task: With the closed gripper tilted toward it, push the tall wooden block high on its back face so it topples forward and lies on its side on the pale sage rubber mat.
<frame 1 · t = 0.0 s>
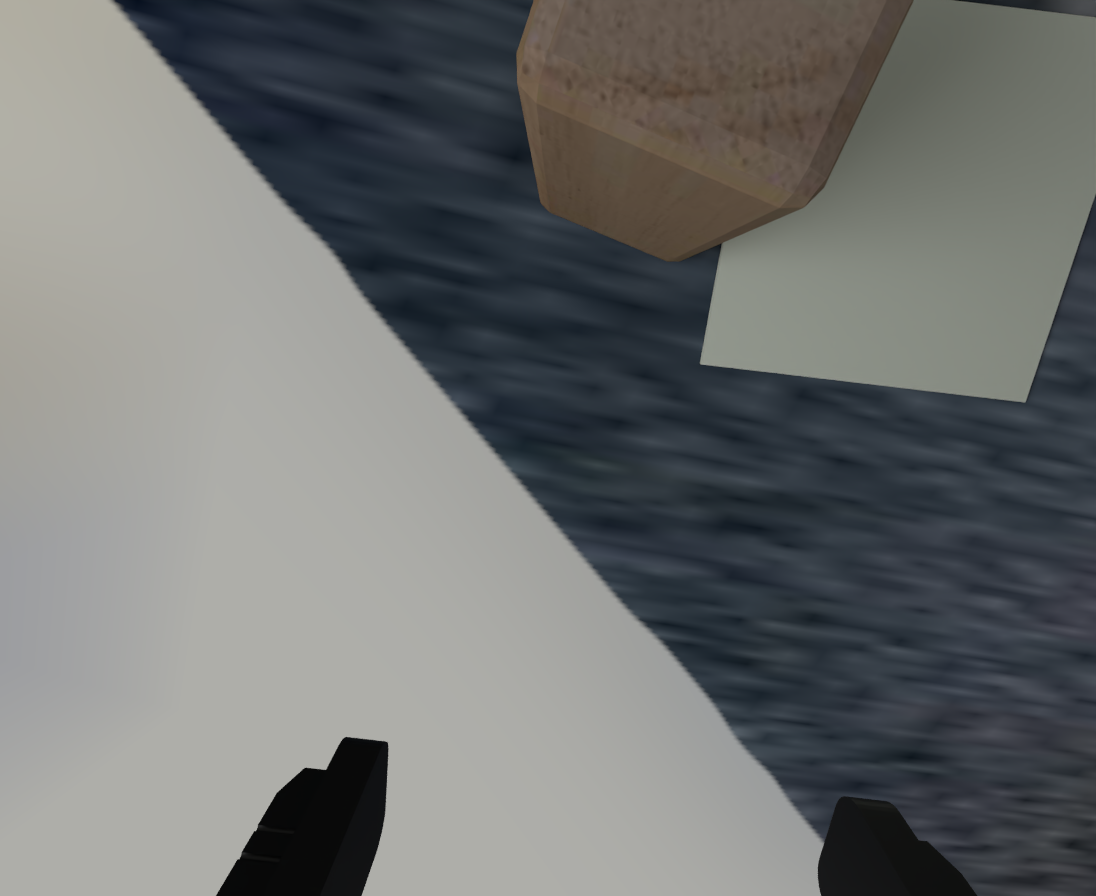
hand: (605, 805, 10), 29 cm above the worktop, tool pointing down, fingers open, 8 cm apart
mat: (905, 208, 34), on the worktop
wooden block: (638, 160, 34), on the worktop
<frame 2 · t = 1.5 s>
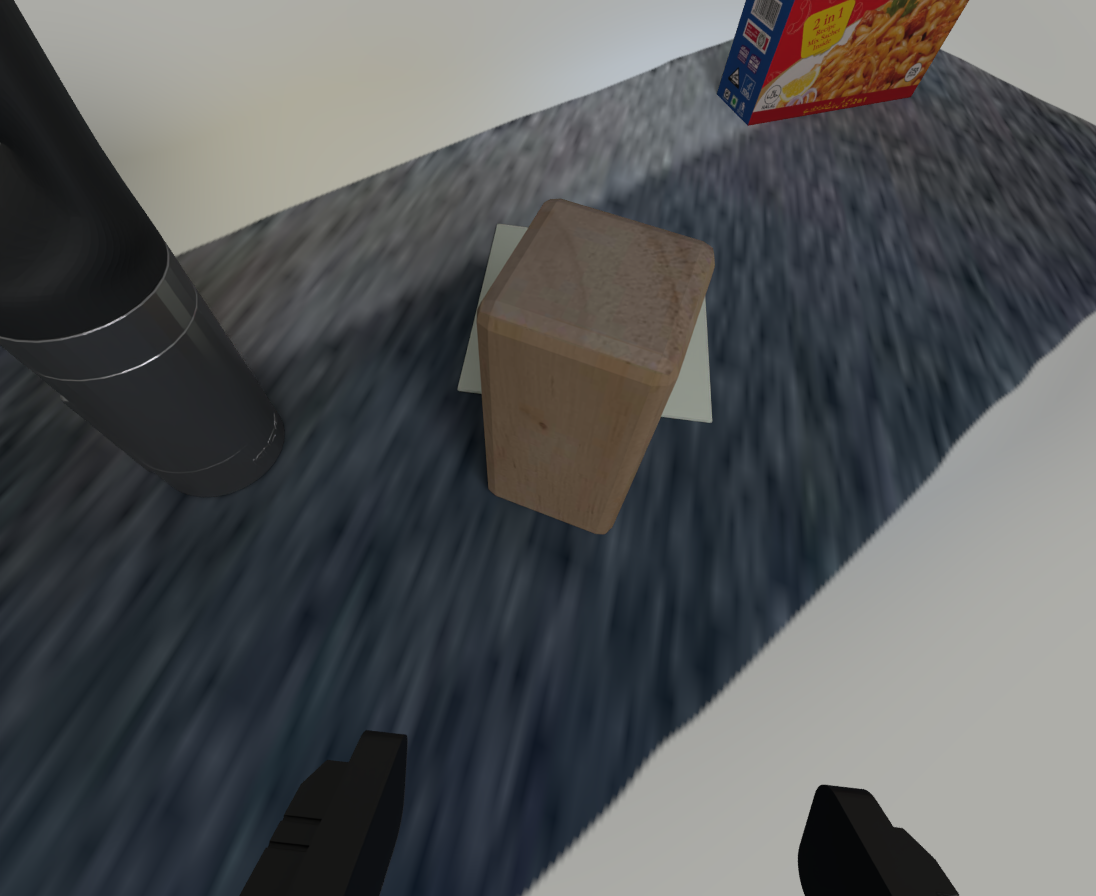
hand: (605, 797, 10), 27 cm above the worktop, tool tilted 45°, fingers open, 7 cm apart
mat: (592, 313, 52), on the worktop
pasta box: (814, 97, 76), on the worktop
wooden block: (566, 467, 44), on the worktop
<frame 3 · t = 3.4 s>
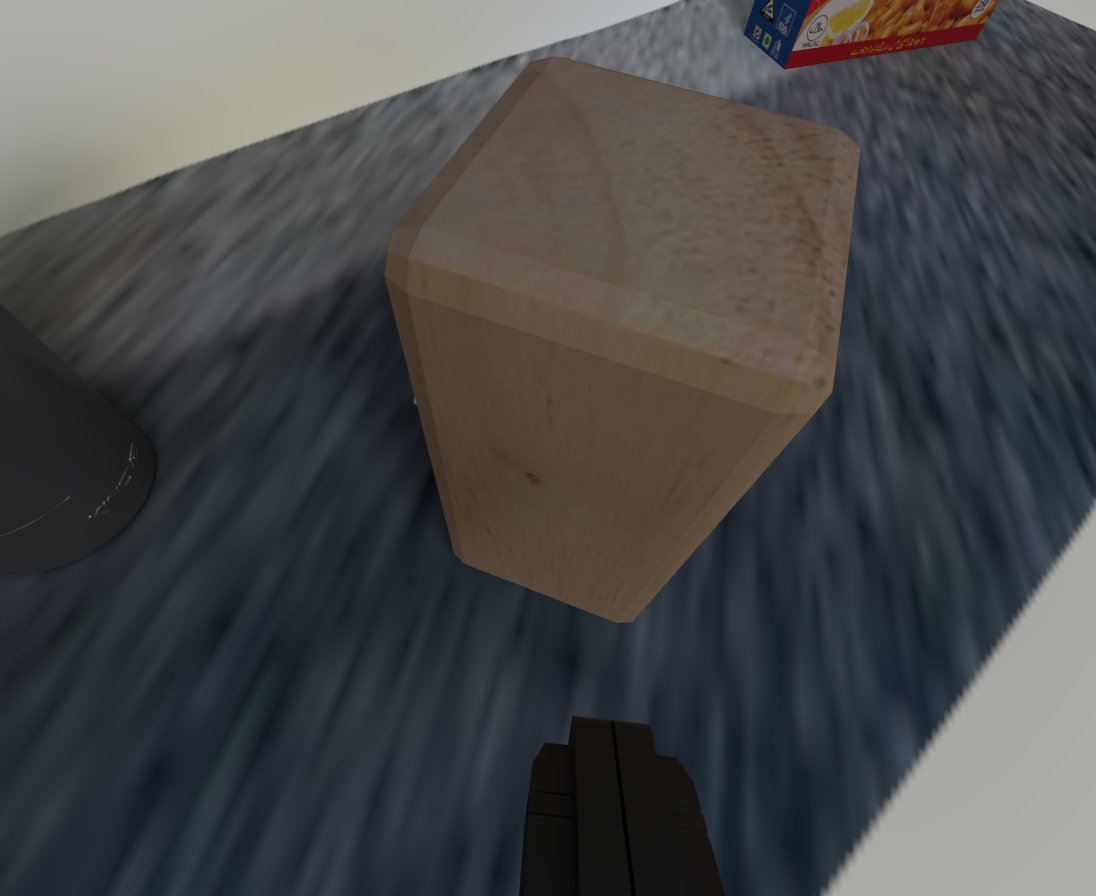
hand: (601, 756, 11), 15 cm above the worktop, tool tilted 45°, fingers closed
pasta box: (861, 39, 63), on the worktop
wooden block: (569, 515, 30), on the worktop
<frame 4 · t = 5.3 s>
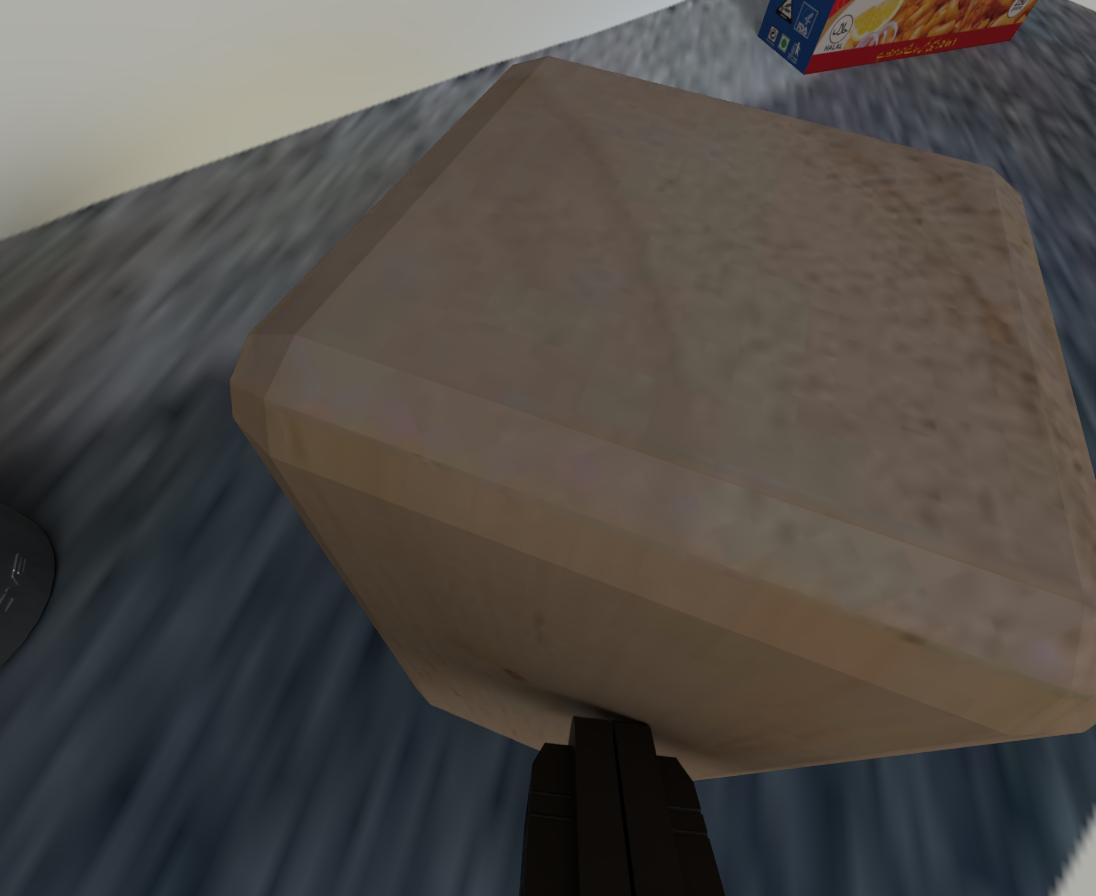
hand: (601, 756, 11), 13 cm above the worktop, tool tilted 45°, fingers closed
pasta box: (886, 40, 58), on the worktop
wooden block: (564, 628, 24), on the worktop, touching gripper
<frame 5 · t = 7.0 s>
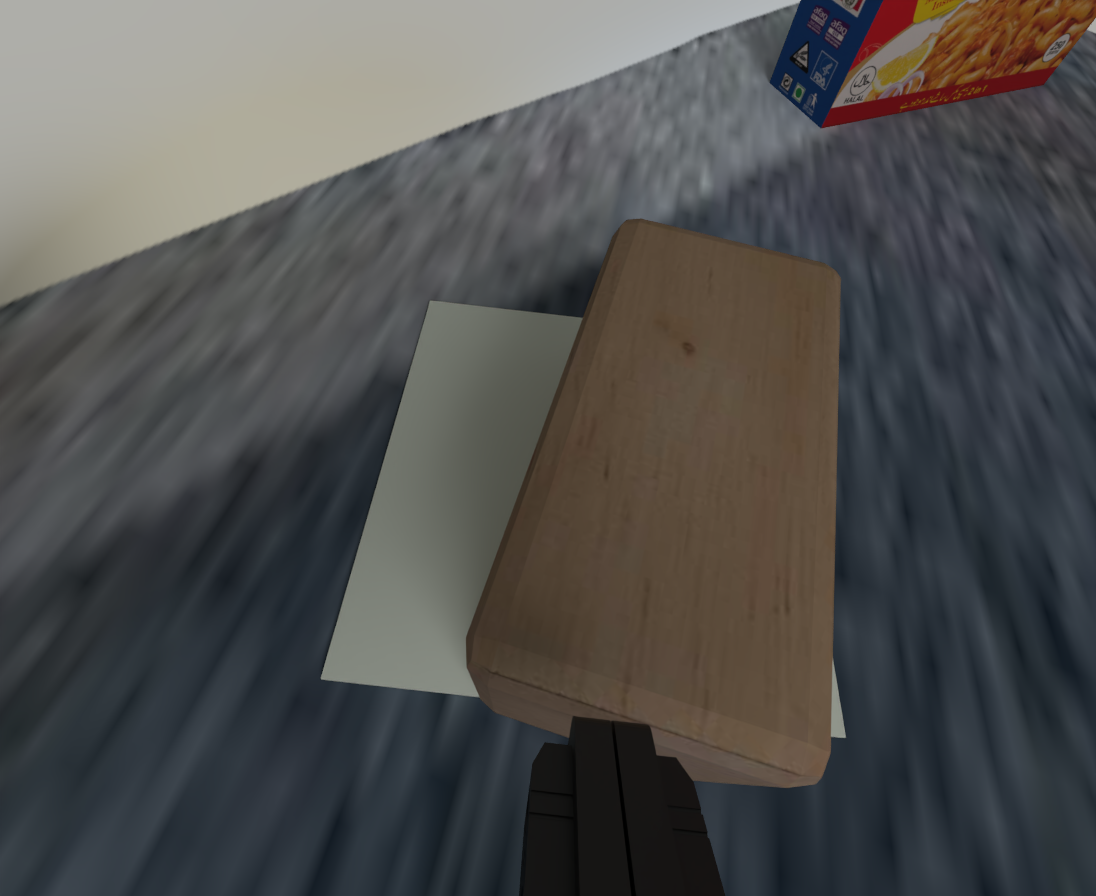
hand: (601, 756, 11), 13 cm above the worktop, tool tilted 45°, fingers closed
mat: (595, 478, 28), on the worktop
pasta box: (909, 86, 53), on the worktop
wooden block: (607, 748, 17), point 5 cm above the worktop, touching mat
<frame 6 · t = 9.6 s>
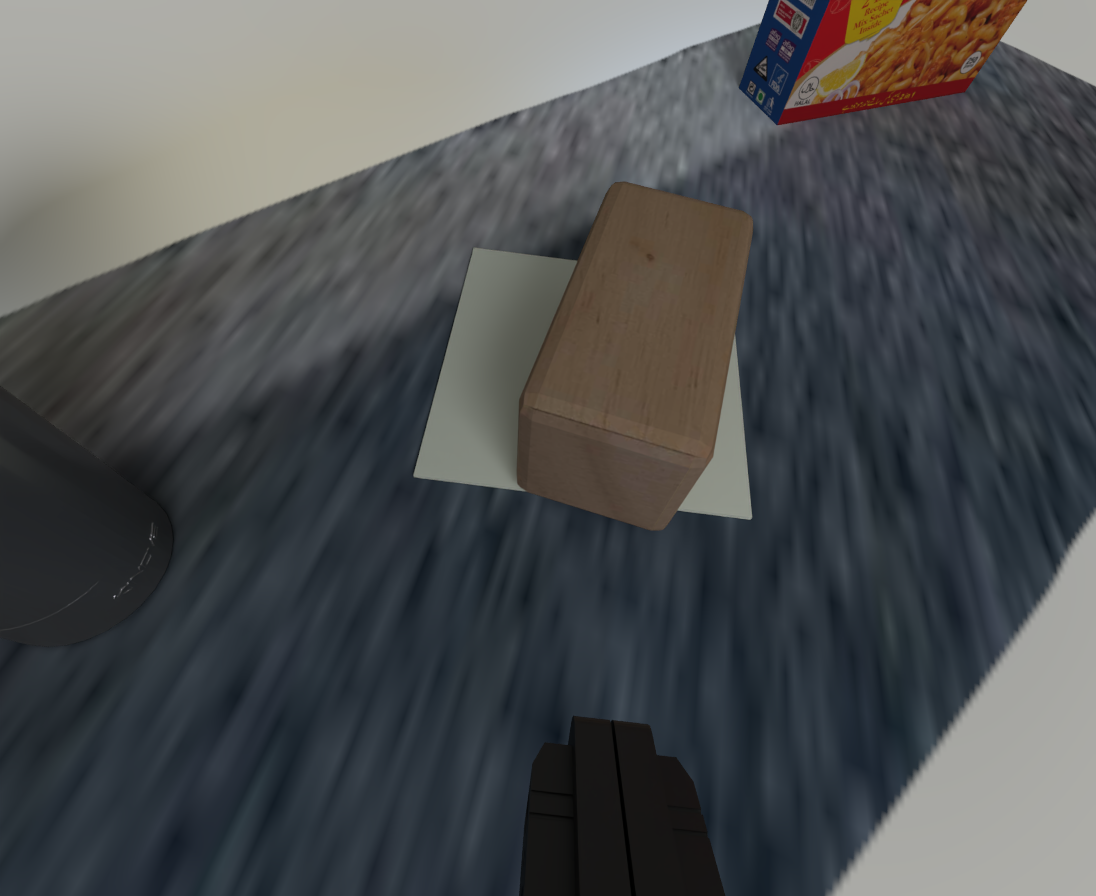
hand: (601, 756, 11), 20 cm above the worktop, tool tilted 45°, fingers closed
mat: (593, 366, 41), on the worktop
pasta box: (853, 92, 65), on the worktop
wooden block: (596, 484, 30), point 5 cm above the worktop, touching mat
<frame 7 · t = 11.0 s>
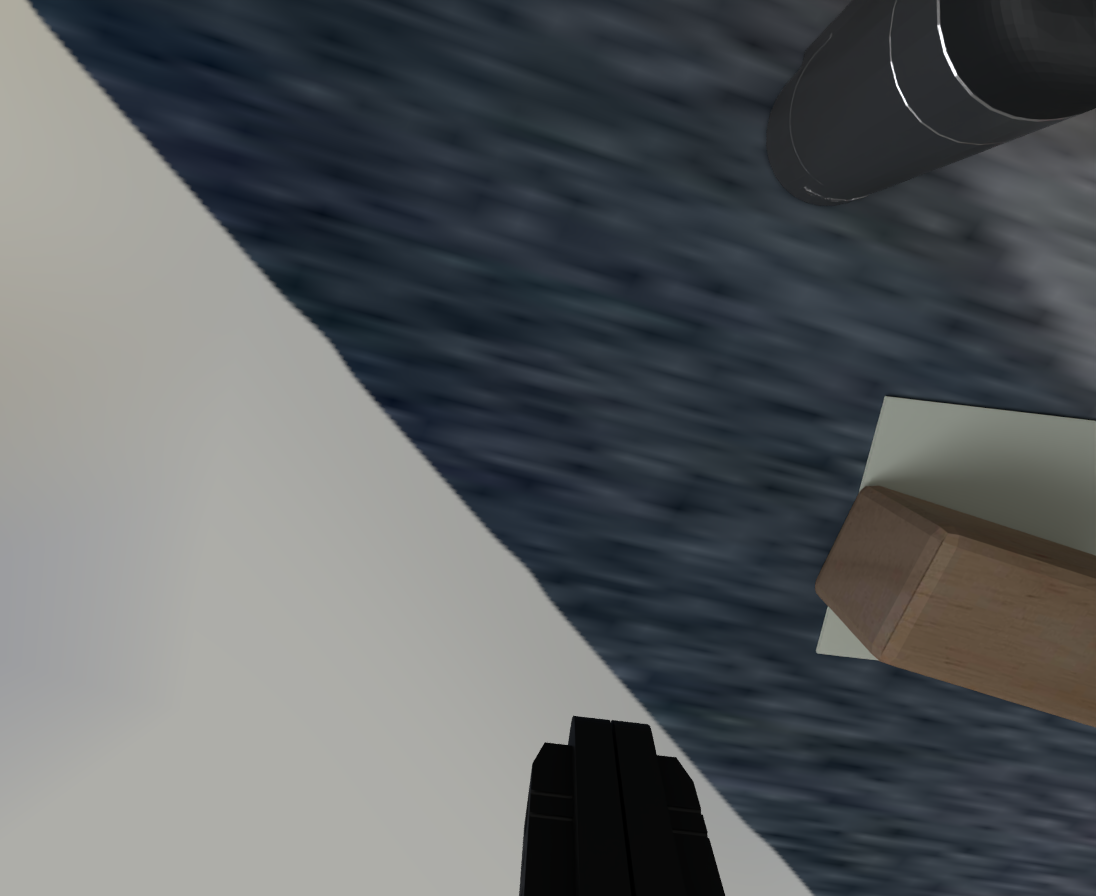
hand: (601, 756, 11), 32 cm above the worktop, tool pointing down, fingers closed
mat: (984, 547, 43), on the worktop
wooden block: (863, 562, 38), point 5 cm above the worktop, touching mat
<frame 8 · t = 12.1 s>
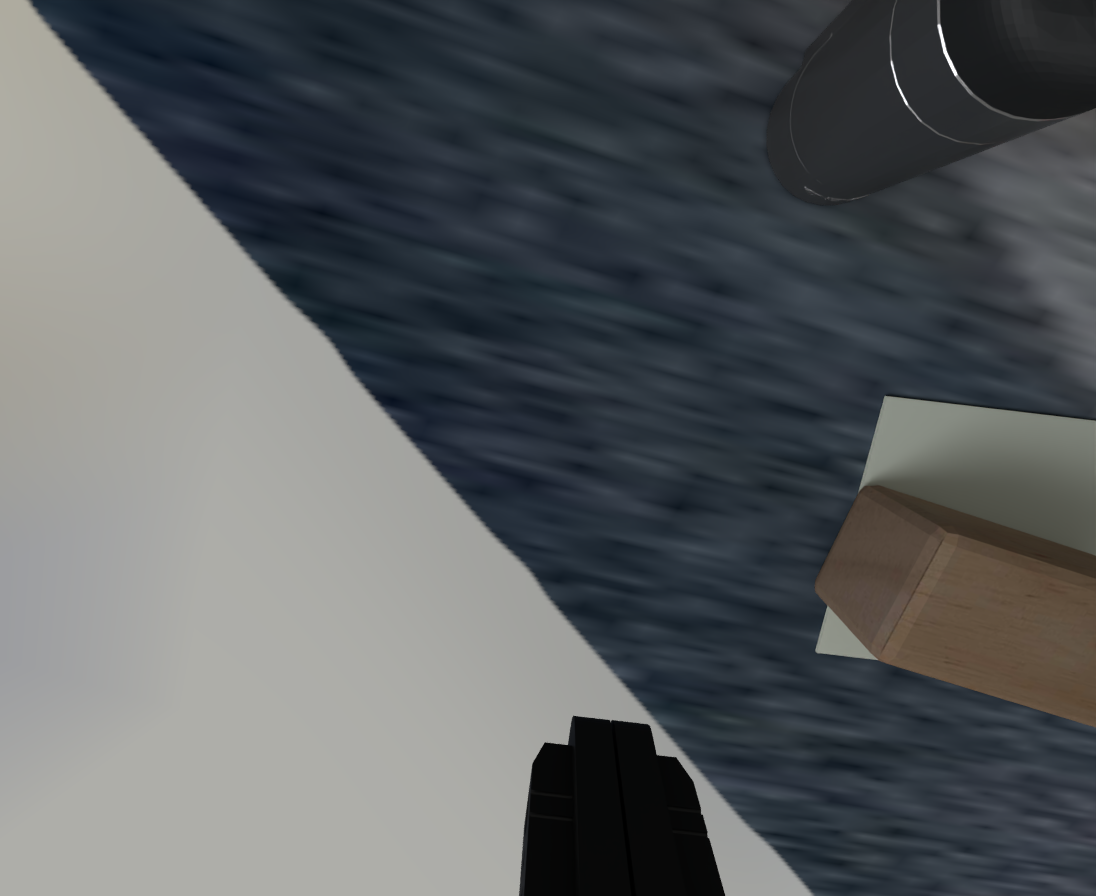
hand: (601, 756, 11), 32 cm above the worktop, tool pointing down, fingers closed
mat: (983, 547, 43), on the worktop
wooden block: (863, 561, 38), point 5 cm above the worktop, touching mat
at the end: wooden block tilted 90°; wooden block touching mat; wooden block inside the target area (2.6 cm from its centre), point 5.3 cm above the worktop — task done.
